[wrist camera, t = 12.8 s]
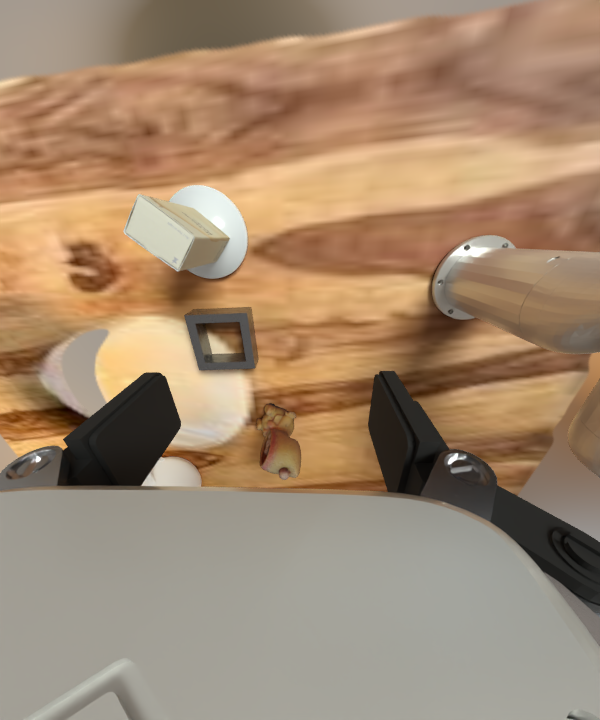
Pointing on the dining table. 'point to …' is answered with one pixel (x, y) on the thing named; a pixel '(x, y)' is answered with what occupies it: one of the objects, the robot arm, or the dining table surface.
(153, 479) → the teapot
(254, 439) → the dining table surface
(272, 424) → the figurine
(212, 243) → the skincare box
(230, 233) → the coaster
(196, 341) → the socket block
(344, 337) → the dining table surface
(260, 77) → the dining table surface
